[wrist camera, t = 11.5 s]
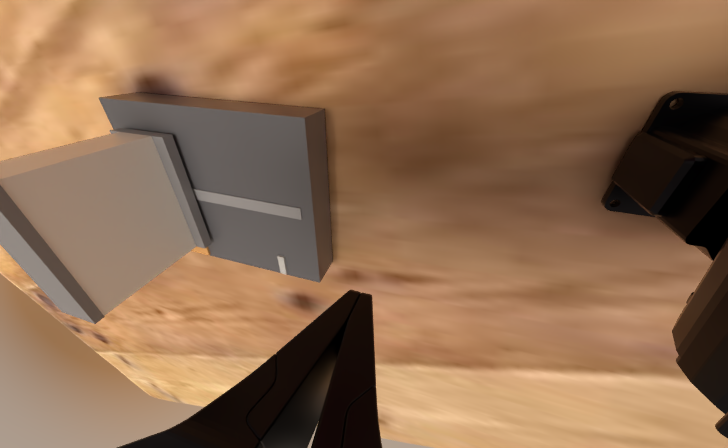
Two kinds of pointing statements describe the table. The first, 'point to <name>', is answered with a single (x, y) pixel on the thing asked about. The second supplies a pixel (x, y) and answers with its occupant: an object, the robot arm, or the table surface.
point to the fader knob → (99, 217)
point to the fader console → (247, 175)
